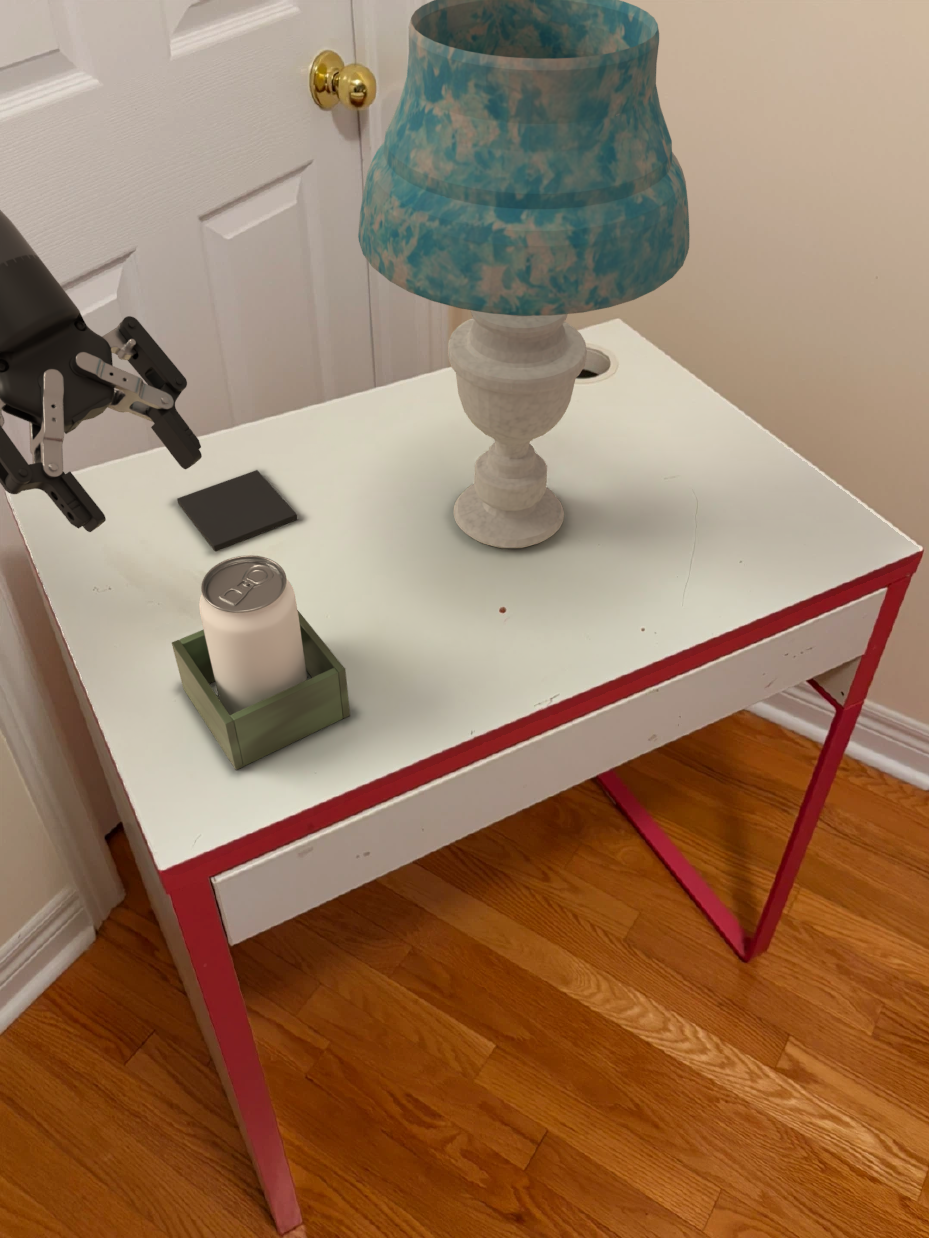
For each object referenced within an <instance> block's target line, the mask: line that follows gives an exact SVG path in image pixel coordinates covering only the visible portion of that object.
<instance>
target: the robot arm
mask: <svg viewBox="0 0 929 1238" xmlns="http://www.w3.org/2000/svg"><path fill="white" fill-rule="evenodd" d="M113 354H115V355H116V356H117V358H118V359H119V360H122V361H123V360H124V361H127V362H128V363H129V364H130V365H131V367H132V368H133V369H134V370H135V371H136V372H137V374H138V375H139V376H138V375H135V374H133V373H131V372H128V371H126V370H123V369H121V368H119V367H116V366H114V364H113ZM187 387H188V380H187V378H186V377H185V376H184V375H183V373H182V372H181V371H180V369H179V368H178V367H177V366H176V364H175V363H174V362H173V361H172V360H171V359H170V357H169V356H168V355H167V354H166V353H165V351H164V350H163V349H162V348H161V346H159V344H158V343H157V342H156V341H155V339H154V338H153V337H152V336H151V334H150V332H148V331H147V329H146V328H145V327H144V326H143V324H142V323H141V322H140V321H139V320H138V319H137V318H136V317H134V316H131V315H129V316H125V317H124V318H123V319H122V321H121V322H119V324H118V325H117V326H116V327H115V328H114V329H112V330H109V331H108V332H107V333H105V334H104V335H102V336H101V335H100V334H99V333H97V332H95V331H94V330H92V329H91V328H90V327H89V326H88V324H87V323H86V322H85V320H84V318H83V315H82V314H81V311H80V309H79V308H78V306H77V305H76V304H75V302H74V301H73V300H72V299H71V298H70V296H69V295H68V293H67V292H66V291H65V289H64V288H63V287H62V285H61V284H60V283H59V282H58V280H57V279H56V278H55V276H54V275H53V274H52V273H51V271H50V270H49V268H48V267H47V265H46V264H45V263H44V262H43V261H42V259H41V258H40V257H39V255H38V254H37V252H36V251H35V250H34V249H33V247H32V246H31V245H30V243H29V241H27V240H26V238H25V237H24V235H23V234H22V233H21V232H20V230H19V229H18V228H17V227H16V225H15V224H14V223H13V222H12V221H11V219H10V218H9V217H8V216H7V215H6V214H5V213H4V212H3V211H2V210H1V209H0V485H1V486H2V488H3V490H5V491H6V492H7V493H8V494H11V495H19V494H20V493H22V492H24V491H29V490H41V491H42V492H44V493H45V494H47V496H48V498H50V500H51V501H52V502H53V503H54V505H55V506H56V507H57V509H59V511H60V512H61V513H62V515H63V516H64V517H65V519H66V520H67V521H68V522H69V524H70V525H71V526H74V527H75V528H77V529H81V528H83V529H84V530H85V531H86V532H87V533H92V532H93V531H94V530H96V529H98V528H100V526H102V525H103V523H105V522H106V521H107V519H106V518H107V517H106V515H105V514H104V512H103V510H102V509H101V508H100V507H99V506H98V504H97V503H96V502H95V500H93V498H92V496H90V494H89V493H88V492H87V490H86V489H85V488H84V486H82V484H81V483H80V481H78V479H77V478H76V477H75V475H74V474H73V473H72V471H68V472H65V471H64V450H63V443H64V439H65V435H67V434H69V433H71V432H72V431H74V430H76V428H78V426H80V424H81V423H82V422H83V421H88V420H92V419H95V418H96V417H98V416H100V415H101V414H103V413H104V412H105V411H106V410H107V409H110V410H113V411H116V412H118V413H129V414H132V415H134V416H137V417H139V418H142V419H144V420H146V421H149V422H152V423H153V424H152V426H150V428H151V429H152V431H153V432H154V433H155V435H156V436H157V437H158V439H159V440H160V442H161V443H162V444H163V446H164V447H165V448H166V450H168V452H169V453H170V455H171V457H173V458H174V460H175V461H176V462H177V464H178V465H179V466H180V467H181V468H182V469H183V470H188V469H189V468H191V467H192V466H194V465H195V464H197V462H199V461H200V460H201V459H202V457H203V456H202V452H201V449H202V445H201V442H200V439H199V438H198V437H197V435H196V434H195V433H194V432H193V430H192V429H191V428H190V426H189V425H188V423H187V422H186V421H185V420H184V418H183V417H182V416H181V414H180V413H179V412H178V410H177V408H176V401H177V399H178V398H179V397H180V395H181V394H182V392H183V391H184V390H185V389H186V388H187ZM2 412H3V413H6V414H8V415H11V416H13V417H15V418H18V419H20V420H23V421H26V422H28V424H29V425H28V429H29V431H28V432H29V433H28V434H29V452H30V454H31V458H32V459H31V460H32V463H28V462H27V459H25V457H24V456H23V454H22V453H21V452H20V450H19V449H18V448H17V446H16V445H15V443H14V442H13V441H12V439H11V438H10V436H9V435H8V434H7V432H6V431H5V430H4V425H5V417H4V415H3V413H2Z"/></svg>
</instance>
